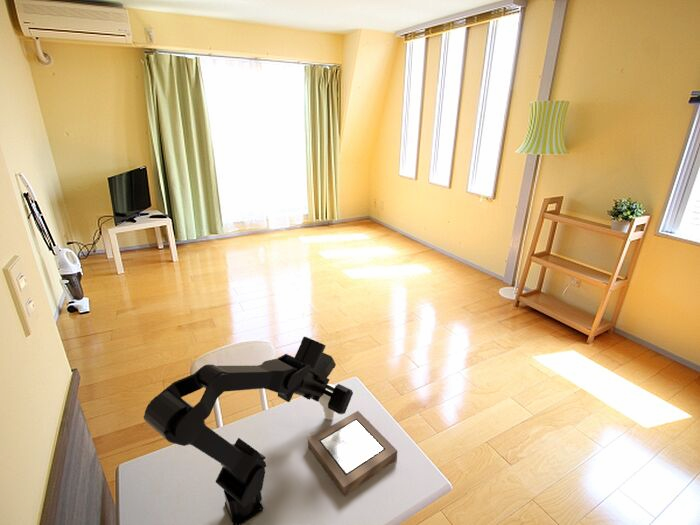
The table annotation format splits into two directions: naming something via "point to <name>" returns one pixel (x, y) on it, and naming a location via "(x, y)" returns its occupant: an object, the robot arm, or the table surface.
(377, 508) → the table surface
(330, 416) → the lightbulb
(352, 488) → the brown picture frame
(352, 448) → the platform
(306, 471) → the table surface
